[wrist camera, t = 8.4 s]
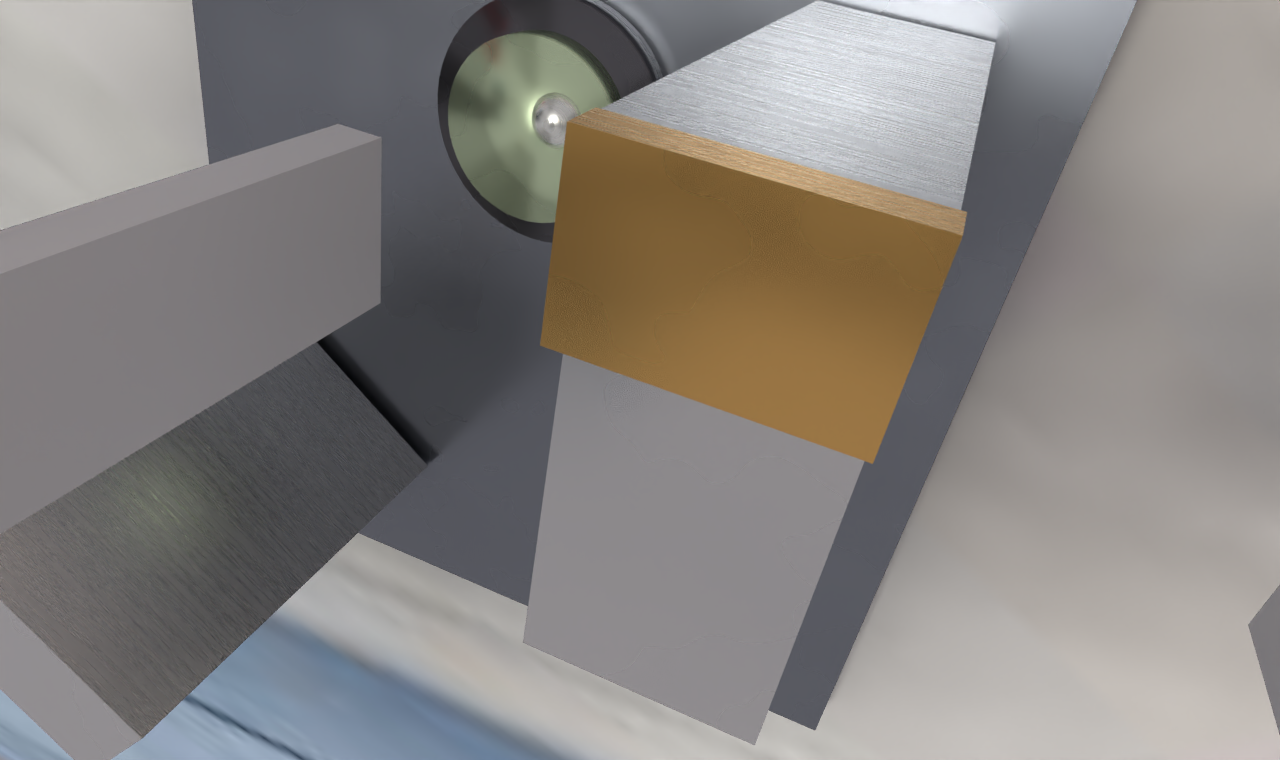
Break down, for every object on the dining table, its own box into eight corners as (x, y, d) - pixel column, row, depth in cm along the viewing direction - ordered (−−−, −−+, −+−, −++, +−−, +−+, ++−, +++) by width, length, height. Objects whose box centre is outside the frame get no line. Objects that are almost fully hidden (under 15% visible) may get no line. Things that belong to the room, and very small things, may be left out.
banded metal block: (730, 330, 20) (501, 668, 11) (814, -1, 16) (566, 121, 7) (874, 378, 19) (747, 780, 10) (998, 42, 15) (963, 235, 7)
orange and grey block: (370, 509, 27) (67, 793, 18) (211, 336, 26) (-187, 551, 17) (428, 465, 25) (121, 758, 17) (260, 277, 24) (-160, 486, 16)
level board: (267, 463, 30) (198, 515, 28) (149, -962, 14) (-40, -1148, 12) (823, 698, 26) (801, 786, 23) (1562, -1000, 10) (1748, -1312, 7)
